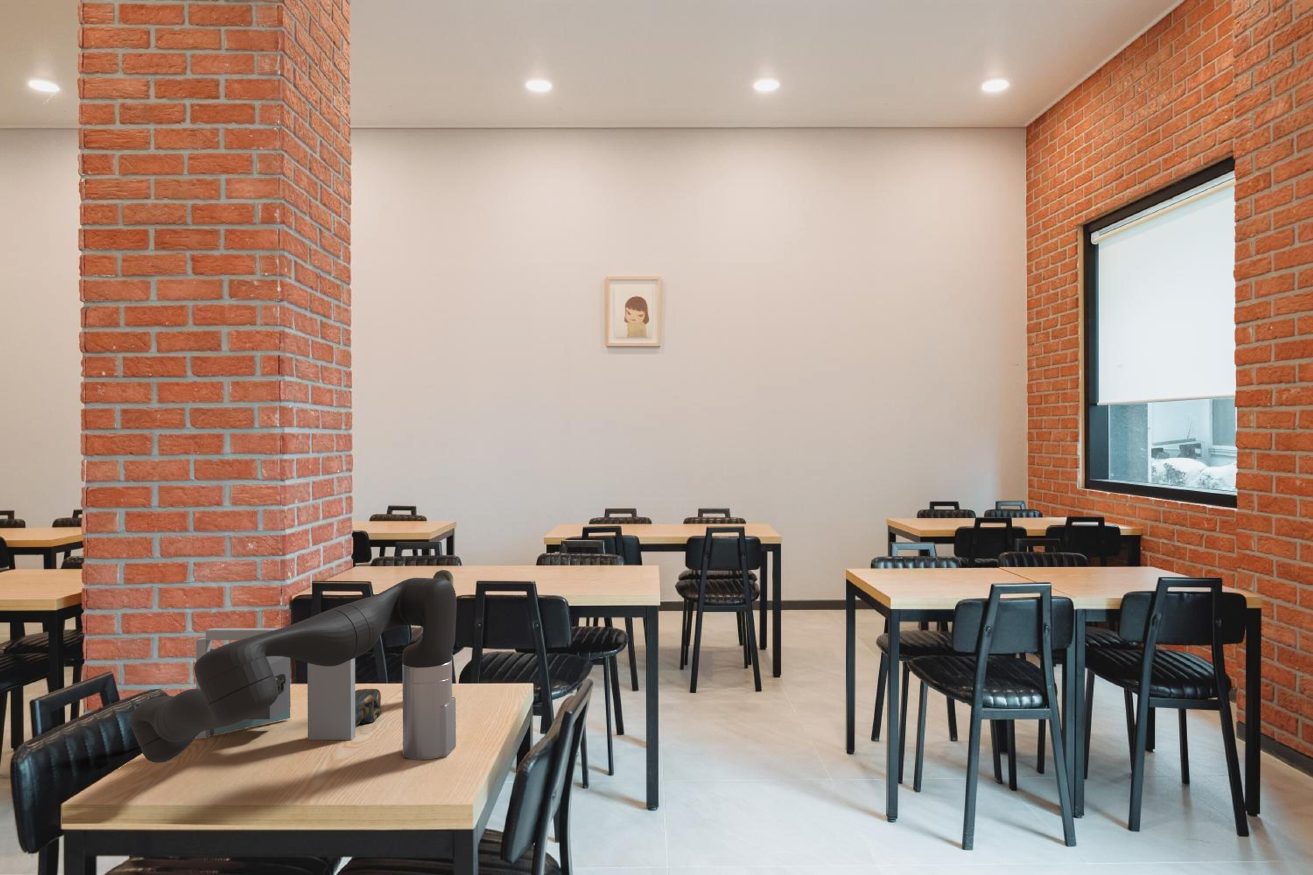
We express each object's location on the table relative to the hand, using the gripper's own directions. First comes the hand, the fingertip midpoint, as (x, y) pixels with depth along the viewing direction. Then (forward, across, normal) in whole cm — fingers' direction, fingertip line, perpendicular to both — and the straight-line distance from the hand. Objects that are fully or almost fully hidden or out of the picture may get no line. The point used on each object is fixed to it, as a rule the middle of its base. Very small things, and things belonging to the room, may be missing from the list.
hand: (269, 678), depth 168 cm
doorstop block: (-1, 0, -7) cm, 7 cm away
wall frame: (-3, +4, -11) cm, 12 cm away
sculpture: (+5, +16, -11) cm, 21 cm away
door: (+2, -6, -10) cm, 12 cm away
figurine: (+25, +27, -11) cm, 39 cm away
